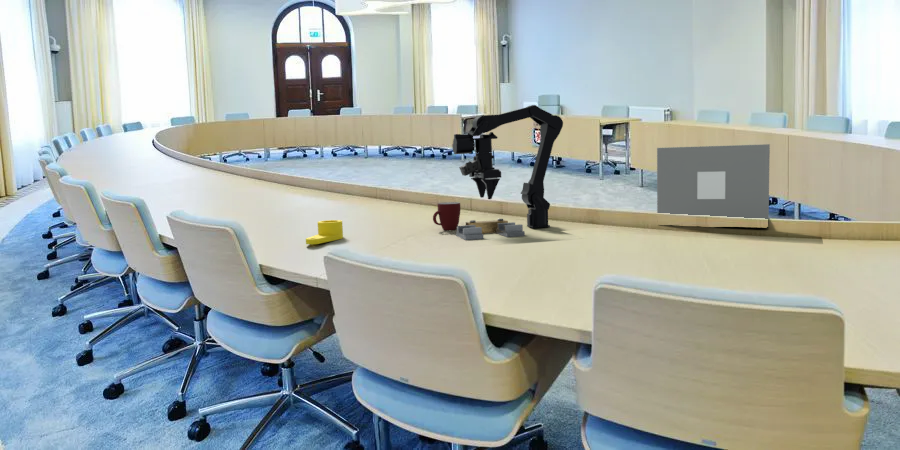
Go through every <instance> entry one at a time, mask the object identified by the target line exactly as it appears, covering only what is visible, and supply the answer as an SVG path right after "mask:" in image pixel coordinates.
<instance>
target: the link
mask: <svg viewBox="0 0 900 450" xmlns="http://www.w3.org/2000/svg"><path fill="white" fill-rule="evenodd" d="M497 223H509V221H508V220H506V219H504V218H497V219H496V220H493V219H492V220H481V221H480V220H479V221H476V220H475V219H474V220H469V221H466V222H465V225H476V227H482V234H490V233H491V234H492V233H496V229H497Z"/></svg>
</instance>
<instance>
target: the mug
mask: <svg viewBox="0 0 900 450" xmlns="http://www.w3.org/2000/svg"><path fill="white" fill-rule="evenodd" d="M460 215H461V202H459V201H458V202H457V201H456V202H455V201H449V202H439V203H437V211H435V212H434V214H433V216H432V221H433V223H434V224H435V225H436V226H441V228H442V230H443V231H447V230H448V231H449V230H451V231H455V230H456V231H457V226H459V224H460V218H461V217H460ZM437 216H438V218H439V222H438V221H437Z"/></svg>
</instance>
